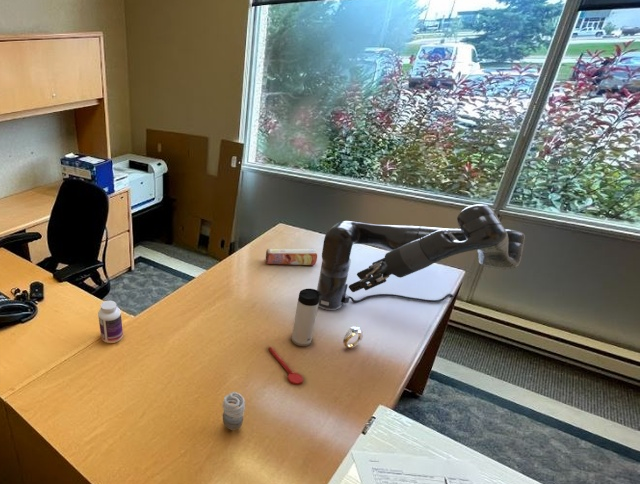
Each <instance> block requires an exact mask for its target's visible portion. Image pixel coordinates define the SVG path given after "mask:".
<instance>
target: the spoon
mask: <svg viewBox="0 0 640 484" xmlns="http://www.w3.org/2000/svg"><path fill="white" fill-rule="evenodd" d="M268 351H269V352H270V353H271V355H273V357H274V358H275V359H276V360H277V361H278V363H279V364H280V365H281V366H282V367H283V368H284V370H285V371H286V372H287V373H288V375H287V381H288V383H291V384H293V385H295V386H296V385H297V386H299V385H302V384H303V382H304V377H303V375H301V374H300V373H298V372H293V371H292V369H291V368H290V367H289V366H288V365H287V363H285V361H284V360H283V359H282V358H281V356H280V355H279V354H278V353H277V352H276V351H275V350H274V349H273V347H271V346H269V347H268Z"/></svg>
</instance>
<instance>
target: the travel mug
mask: <svg viewBox="0 0 640 484" xmlns="http://www.w3.org/2000/svg"><path fill="white" fill-rule="evenodd" d="M320 295H321V292H320V291H317V289H316V288H315V289H314V288H303V289H301V290H299V292H298V298H297V302H296V308H295V309H296V310H295V315H294V321H293V327H292V334H291V341H292V343H293V344H295V345H297V346H299V347H308V346H310V345H311V343H312V340H313V335H314V329H315V324H316V319H317V313H318V309H319V307H318V304H319V298H320Z"/></svg>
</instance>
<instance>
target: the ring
mask: <svg viewBox="0 0 640 484" xmlns="http://www.w3.org/2000/svg"><path fill="white" fill-rule="evenodd" d="M356 335H358V336H357V339H356V341H354V342H353V343H350V344H348V342H349V341H350V340H351V339H352V338H353V337H354V336H356ZM363 338H364V331H362V330H361V327H358V326H357V327H356V326H352V327H350V328H349V329H348V330H347V332H346V333H345V335H344V337H343V340H342V344H343V346H344V347H345V348H347V349H353V348H355V347H357V346H358V345H359V344H360V343H361V341H362V340H363Z"/></svg>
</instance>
